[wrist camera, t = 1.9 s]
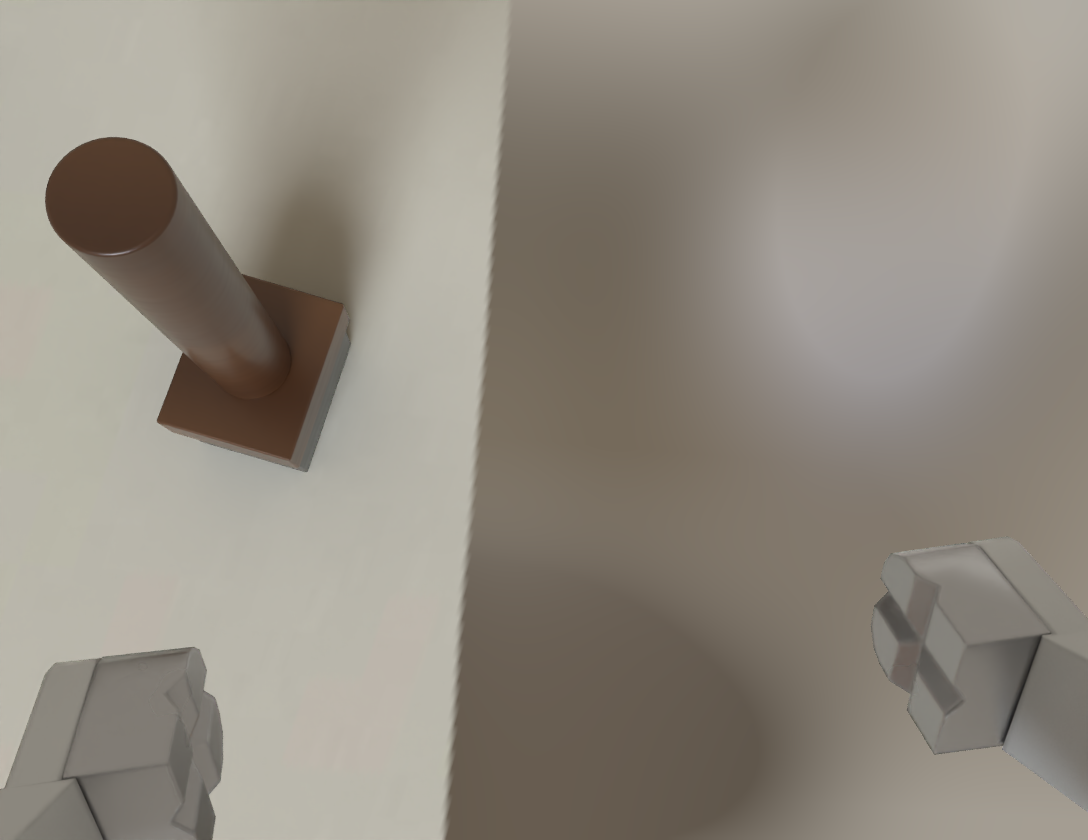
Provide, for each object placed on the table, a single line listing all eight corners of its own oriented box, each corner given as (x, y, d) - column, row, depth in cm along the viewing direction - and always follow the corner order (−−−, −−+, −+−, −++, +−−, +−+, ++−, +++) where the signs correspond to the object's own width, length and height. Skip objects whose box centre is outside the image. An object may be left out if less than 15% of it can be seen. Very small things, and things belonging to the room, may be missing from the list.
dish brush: (243, 305, 34) (54, 42, 19) (358, 339, 34) (266, 105, 19) (192, 444, 33) (-56, 289, 17) (311, 480, 33) (169, 356, 17)
